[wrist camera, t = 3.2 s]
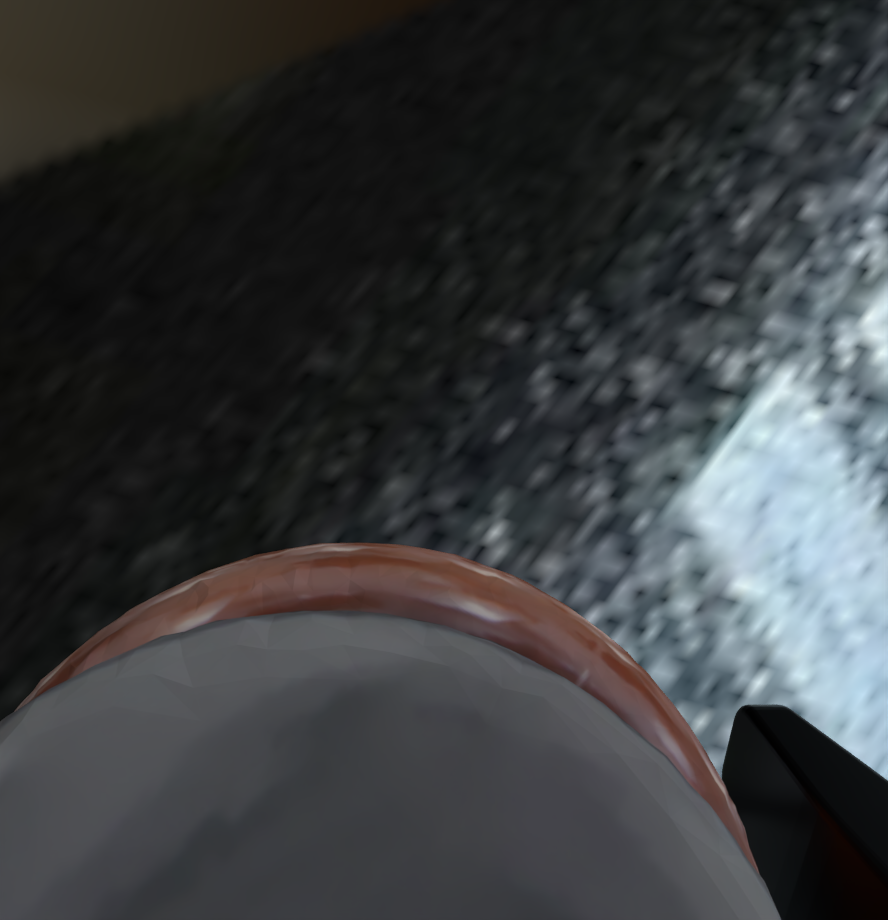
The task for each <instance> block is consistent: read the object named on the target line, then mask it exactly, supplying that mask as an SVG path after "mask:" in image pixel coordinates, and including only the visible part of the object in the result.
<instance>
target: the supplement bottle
mask: <svg viewBox="0 0 888 920" xmlns="http://www.w3.org/2000/svg"><path fill="white" fill-rule="evenodd" d="M0 920H781V918H780V915H779V913H778V911H777V909H776V906H775V904H774V902H773V899H772V897H771V895H770V893H769V890H768V888H767V886H766V884H765V881H764V880H763V879H762V877H761V876H760V874H759V871H758V867H757V865H756V862H755V860H754V857H753V855H752V852H751V850H750V847H749V844H748V840H747V835H746V831H745V828H744V826H743V823H742V821H741V819H740V817H739V815H738V812H737V809H736V806H735V805H734V803H733V801H732V800H731V798H730V796H729V794H728V791H727V789H726V786H725V784H724V783H723V781H722V779H721V778H720V776H719V774H718V772H717V771H716V769H715V767H714V766H713V764H712V762H711V761H710V759H709V757H708V755H707V753H706V751H705V750H704V748H703V747H702V745H701V744H700V742H699V740H698V739H697V737H696V736H695V734H694V733H693V731H692V730H691V728H690V726H689V725H688V723H687V722H686V721H685V719H684V718H683V717H682V715H681V714H680V713H679V711H678V710H677V708H676V707H675V706H674V704H673V703H672V702H671V701H670V700H669V699H668V697H667V696H666V695H665V694H664V693H663V691H662V690H661V689H660V688H659V687H658V685H657V684H656V683H655V682H654V680H653V679H652V678H651V677H650V675H649V674H648V673H647V672H646V671H645V670H644V669H643V668H642V667H641V666H640V665H639V664H637V663H636V662H635V661H634V659H633V658H632V657H631V656H630V655H629V654H628V653H627V652H626V651H625V650H624V649H623V648H622V647H620V646H619V645H618V644H617V643H616V642H614V641H613V640H612V639H611V638H609V637H608V636H607V635H606V634H605V633H603V632H602V631H601V630H599V629H598V628H597V627H595V626H594V625H593V624H591V623H590V622H588V621H587V620H586V619H584V618H583V617H582V616H580V615H579V614H578V613H576V612H575V611H573V610H572V609H571V608H569V607H568V606H566V605H565V604H563V603H562V602H560V601H558V600H557V599H555V598H553V597H551V596H550V595H548V594H546V593H544V592H542V591H541V590H539V589H537V588H536V587H534V586H532V585H531V584H529V583H527V582H526V581H524V580H521V579H519V578H517V577H515V576H513V575H511V574H508V573H505V572H502V571H499V570H496V569H494V568H491V567H488V566H485V565H482V564H480V563H477V562H474V561H471V560H469V559H466V558H463V557H461V556H458V555H455V554H449V553H444V552H439V551H433V550H428V549H424V548H418V547H411V546H404V545H394V544H376V543H321V544H315V545H309V546H303V547H297V548H291V549H285V550H280V551H275V552H269V553H264V554H259V555H254V556H251V557H248V558H246V559H243V560H239V561H236V562H233V563H230V564H227V565H224V566H221V567H218V568H215V569H212V570H209V571H207V572H204V573H202V574H200V575H198V576H196V577H194V578H192V579H190V580H187V581H185V582H183V583H181V584H179V585H177V586H175V587H173V588H170V589H168V590H166V591H164V592H162V593H160V594H159V595H157V596H155V597H153V598H151V599H149V600H147V601H145V602H143V603H141V604H140V605H138V606H136V607H134V608H132V609H131V610H129V611H128V612H126V613H125V614H124V615H122V616H121V617H120V618H118V619H117V620H116V621H114V622H113V623H111V624H110V625H108V626H106V627H105V628H103V629H102V630H100V631H99V632H97V633H96V634H95V635H94V636H93V637H91V638H90V639H89V640H88V641H87V642H86V643H84V644H83V645H82V646H81V647H80V648H78V649H77V650H76V651H75V652H73V653H72V654H71V655H70V656H69V657H68V658H66V659H65V660H64V661H63V662H62V663H61V664H60V665H59V666H57V667H56V668H55V669H54V670H53V671H51V672H50V673H49V674H48V675H47V676H45V677H44V678H43V679H42V680H41V681H40V682H39V683H38V685H37V686H36V688H35V689H34V690H33V692H32V693H31V694H30V695H29V696H28V697H27V698H26V699H25V700H24V701H23V702H22V703H21V704H20V705H19V706H18V707H17V709H16V710H15V711H14V712H13V713H12V714H10V715H9V716H7V717H6V718H4V719H3V720H2V721H0Z"/></svg>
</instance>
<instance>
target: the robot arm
mask: <svg viewBox="0 0 888 920" xmlns="http://www.w3.org/2000/svg"><path fill="white" fill-rule="evenodd" d="M722 781H723V783H724V784H725V786H726V789H727V791H728V794H729V796H730V798H731V800H732V801H733V803H734V805H735V806H736V809H737V812H738V815H739V817H740V819H741V821H742V823H743V826H744V828H745V831H746V835H747V840H748V844H749V847H750V850H751V852H752V855H753V857H754V860H755V862H756V865H757V867H758V871H759V874H760V876H761V877H762V879H763V880H764V881H765V884H766V886H767V888H768V890H769V893H770V895H771V897H772V899H773V902H774V904H775V906H776V909H777V911H778V913H779V915H780V918H781V920H888V780H886V779H885V778H884V777H882V776H881V775H879V774H878V773H877V772H875V771H874V770H873V769H871V768H870V767H869V766H867V765H866V764H865V763H863V762H862V761H860V760H859V759H858V758H856V757H855V756H854V755H852V754H851V753H850V752H848V751H847V750H846V749H844V748H843V747H841V746H840V745H839V744H837V743H836V742H835V741H833V740H832V739H831V738H829V737H828V736H826V735H825V734H824V733H822V732H821V731H820V730H818V729H817V728H816V727H814V726H813V725H812V724H810V723H809V722H807V721H806V720H805V719H803V718H802V717H801V716H799V715H798V714H797V713H795V712H794V711H792V710H791V709H789V708H788V707H785V706H783V705H745V706H742V707H741V708H740V709H739V710H738V711H737V713H736V716H735V718H734V722H733V726H732V730H731V735H730V739H729V743H728V747H727V751H726V755H725V760H724V764H723V769H722Z"/></svg>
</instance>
